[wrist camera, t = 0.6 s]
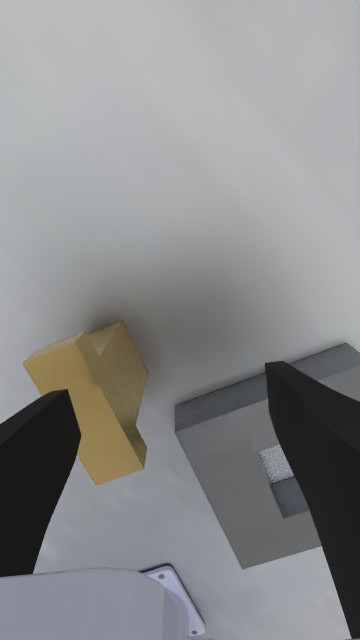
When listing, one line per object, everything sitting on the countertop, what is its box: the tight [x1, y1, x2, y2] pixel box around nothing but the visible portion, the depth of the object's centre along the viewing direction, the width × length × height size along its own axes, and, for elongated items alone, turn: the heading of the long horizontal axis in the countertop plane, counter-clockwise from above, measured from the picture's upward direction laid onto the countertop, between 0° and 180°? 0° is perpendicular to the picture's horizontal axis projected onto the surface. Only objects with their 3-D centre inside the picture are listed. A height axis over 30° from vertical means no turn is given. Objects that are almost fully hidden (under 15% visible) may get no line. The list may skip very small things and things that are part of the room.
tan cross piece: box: [23, 320, 148, 485], centre depth 18 cm, size 2×7×8 cm, turn 23°
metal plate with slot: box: [175, 343, 360, 569], centre depth 22 cm, size 12×12×3 cm
